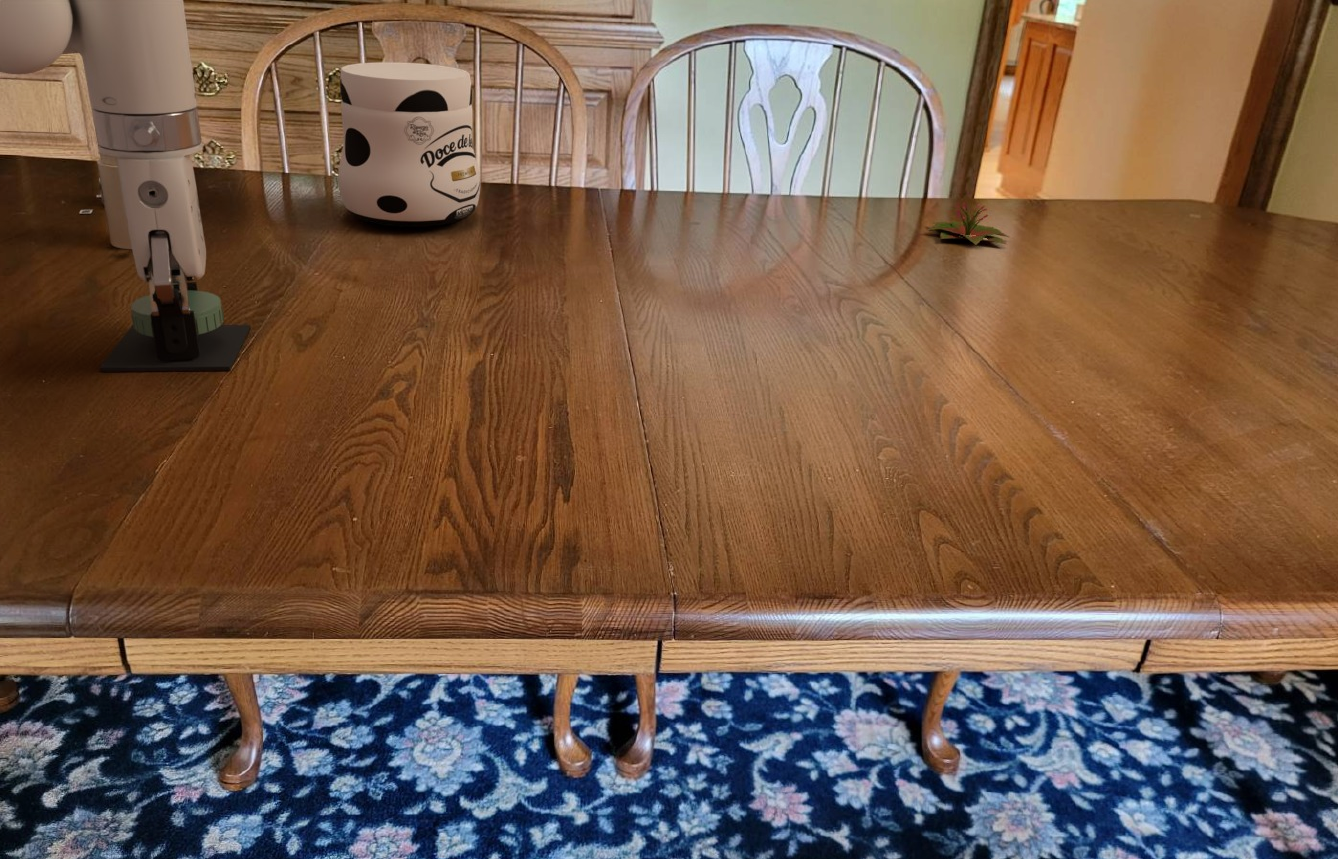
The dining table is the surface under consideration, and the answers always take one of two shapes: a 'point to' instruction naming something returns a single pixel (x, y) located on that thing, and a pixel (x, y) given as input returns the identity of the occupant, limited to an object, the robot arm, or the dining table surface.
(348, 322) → the dining table surface
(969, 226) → the lily flower
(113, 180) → the honey jar
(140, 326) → the honey lid
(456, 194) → the milk container
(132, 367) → the coaster
